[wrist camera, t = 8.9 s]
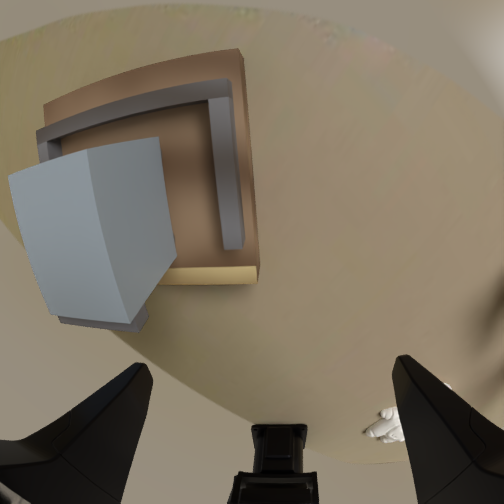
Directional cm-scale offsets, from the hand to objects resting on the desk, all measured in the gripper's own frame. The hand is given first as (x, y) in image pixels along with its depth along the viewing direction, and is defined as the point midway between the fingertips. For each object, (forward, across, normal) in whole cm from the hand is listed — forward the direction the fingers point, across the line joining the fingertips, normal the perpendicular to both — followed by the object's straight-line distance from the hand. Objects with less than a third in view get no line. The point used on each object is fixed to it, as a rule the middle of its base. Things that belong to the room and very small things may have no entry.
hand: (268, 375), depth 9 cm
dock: (+12, +8, -6) cm, 15 cm away
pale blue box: (+9, +8, -5) cm, 13 cm away
